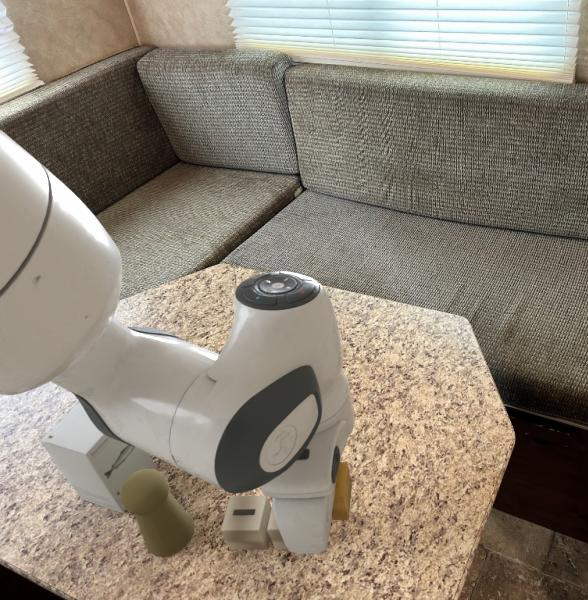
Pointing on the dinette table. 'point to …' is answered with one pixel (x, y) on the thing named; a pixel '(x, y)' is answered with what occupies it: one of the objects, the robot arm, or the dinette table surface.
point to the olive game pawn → (157, 513)
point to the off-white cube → (247, 522)
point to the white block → (275, 532)
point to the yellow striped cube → (342, 493)
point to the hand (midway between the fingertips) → (328, 494)
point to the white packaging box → (93, 459)
